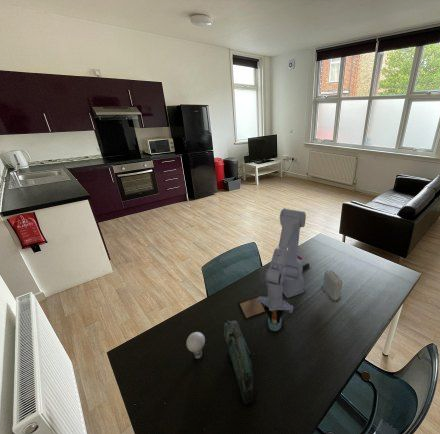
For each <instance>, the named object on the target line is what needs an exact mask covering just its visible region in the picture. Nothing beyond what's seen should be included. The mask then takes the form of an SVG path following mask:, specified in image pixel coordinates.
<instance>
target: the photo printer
mask: <svg viewBox="0 0 440 434" xmlns="http://www.w3.org/2000/svg"><path fill="white" fill-rule="evenodd" d="M342 287H343V280H342V278H341V277H340V276H339V274H338V273H337V272H336V271H335V270H333V269H332V268H326V269H325V271H324V274H323V282H322V288H323V290H324V291H325V293H326V294H327V295H328V296H329V297H330V298H331V299H332V300H333V301H338V300H339V298H340V297H341V291H342Z"/></svg>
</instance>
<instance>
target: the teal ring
mask: <svg viewBox="0 0 440 434" xmlns="http://www.w3.org/2000/svg"><path fill="white" fill-rule="evenodd" d="M282 323H283V321H282V318H281V317H280V321H279V322H278V324H277V325H273V324H272V319H271V320H270V319H269V318H268V319H267V327H268V329H269V330H270V331H273V332H278V331H279V330H280V329H281V328H282Z"/></svg>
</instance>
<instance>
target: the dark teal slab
mask: <svg viewBox="0 0 440 434" xmlns="http://www.w3.org/2000/svg"><path fill="white" fill-rule="evenodd" d="M223 336H224V339H225V343H226V344H227V347H228V348H227V349H228V355H229V359H230V362H231V363H232V366H233V370H234V373H235V376H236V379H237V384H238V387H239V390H240V395H241V399H242V402H243V403H244V405H248V404H249V403H251V402H254V398H255V380H254V373H253V372H254V371H253V362H252V356H251V355H252V354H251V352H250V349H249V347H248V344H247V342H246V340H245V337H244V335H243V333H242V330H241V327H240V324H239V322H238V321H237V320H228V319H226V322H224V324H223Z"/></svg>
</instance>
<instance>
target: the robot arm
mask: <svg viewBox="0 0 440 434" xmlns="http://www.w3.org/2000/svg"><path fill="white" fill-rule="evenodd" d="M306 217H307V214H306V212H305V211H304V210H303V211H302V210H296V209H288V208H282V209H281V210H280V212H279V221H280V223H279V224H280V226H281V233H280V236H279V242H278V246H277V247H276V248H274V250H273V254H272V258H271V260H270V263H269V266H267V268H266V270H265V274H264V282H265V285H266V286H267V296H260V295H258V297H257V298H258V299H257V303H260V302H261V304H262V305H263V308H264V310H265V313H266V314H267V316H268V319H270V320H271V319H272V312H276V315H277V322H278V323H279V321H280V318H281V317H282V316H283V314H284V312H285V311H288V313H290V314H292V313H293V310H294V305H292V304H290V303H288V302H287V301H285V300H284V299H283V295H284V296H285V297H286V298H287V299H290V298H291V297H295V296H297V295H300V294H304V292H305V291H304V286H305V285H304V284H305V283H304V282H305V280H304V279H305V278H304V276H303V267H302V266H303V264H302V262H301V261H300V260H299V259H298V258H297V255H298V256H299V254H298V253H299V242H300V231H301V228H304V227H306V219H307V218H306Z"/></svg>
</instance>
